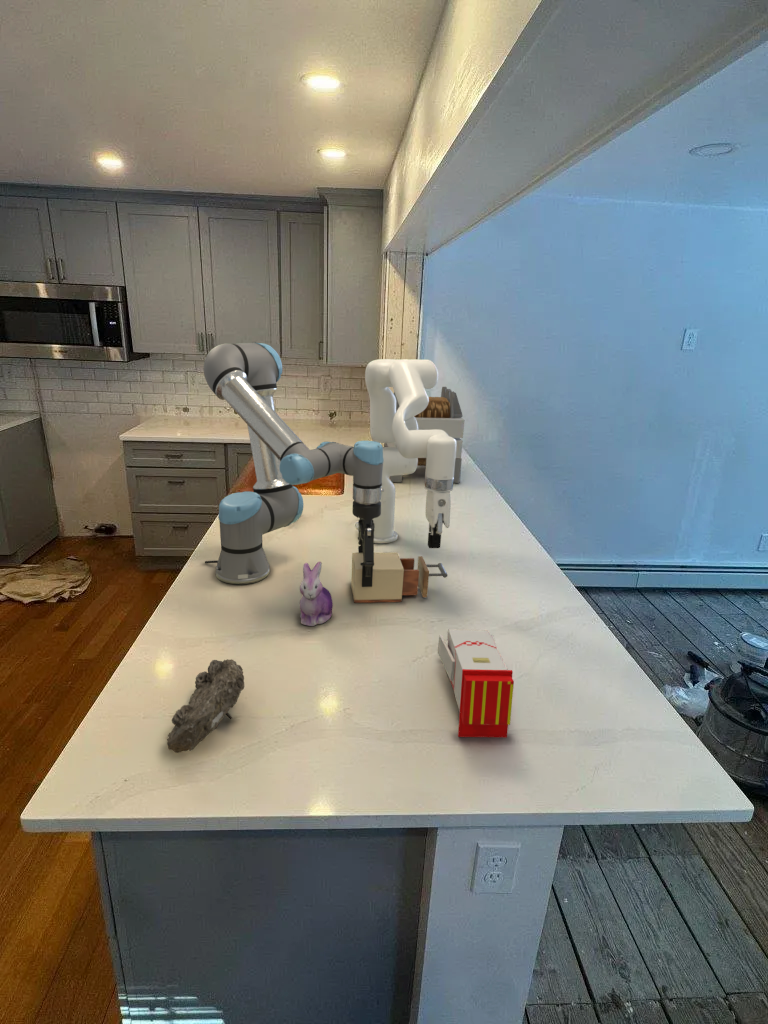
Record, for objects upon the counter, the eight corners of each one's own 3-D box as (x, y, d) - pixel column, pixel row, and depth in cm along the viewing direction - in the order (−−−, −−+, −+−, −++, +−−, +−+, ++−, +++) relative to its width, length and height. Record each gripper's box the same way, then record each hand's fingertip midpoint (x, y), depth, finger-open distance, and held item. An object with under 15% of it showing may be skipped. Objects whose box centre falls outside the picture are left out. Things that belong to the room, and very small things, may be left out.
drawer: (439, 581, 165) (441, 556, 162) (447, 597, 156) (449, 570, 153) (380, 581, 162) (381, 556, 160) (384, 598, 153) (386, 571, 151)
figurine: (305, 631, 137) (304, 575, 132) (291, 611, 146) (290, 558, 141) (340, 623, 142) (342, 569, 137) (325, 604, 150) (326, 552, 145)
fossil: (192, 660, 117) (244, 628, 112) (224, 691, 120) (276, 661, 115) (142, 746, 98) (202, 712, 93) (182, 779, 101) (242, 748, 96)
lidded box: (395, 583, 164) (397, 552, 160) (401, 602, 154) (403, 569, 150) (351, 584, 162) (352, 552, 159) (354, 602, 152) (355, 569, 149)
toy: (488, 613, 130) (523, 677, 101) (484, 667, 133) (517, 744, 104) (435, 612, 130) (455, 676, 101) (432, 666, 133) (451, 743, 103)
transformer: (382, 463, 289) (386, 382, 275) (445, 464, 293) (451, 384, 279) (390, 482, 257) (394, 392, 243) (460, 483, 261) (468, 394, 247)
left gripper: (387, 516, 138) (383, 596, 145) (376, 487, 160) (373, 558, 167) (356, 516, 137) (354, 597, 144) (349, 487, 159) (348, 558, 166)
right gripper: (459, 491, 143) (453, 558, 149) (446, 475, 156) (441, 536, 163) (430, 491, 142) (425, 558, 148) (419, 475, 155) (415, 536, 162)
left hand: (364, 576), depth 156 cm, fingers closed on lidded box, 11 cm apart
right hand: (433, 546), depth 155 cm, fingers closed
